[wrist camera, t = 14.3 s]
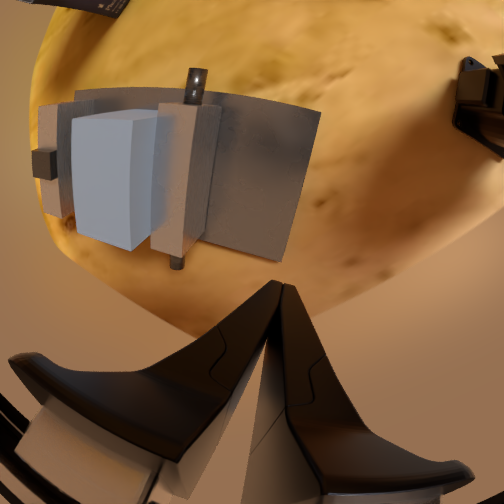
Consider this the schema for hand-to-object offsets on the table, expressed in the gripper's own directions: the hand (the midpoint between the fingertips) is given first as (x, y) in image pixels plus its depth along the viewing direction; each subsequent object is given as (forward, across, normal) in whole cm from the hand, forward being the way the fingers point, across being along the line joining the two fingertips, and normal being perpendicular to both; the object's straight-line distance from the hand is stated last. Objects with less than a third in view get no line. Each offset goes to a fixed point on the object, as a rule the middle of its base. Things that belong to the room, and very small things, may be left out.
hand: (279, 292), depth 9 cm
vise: (+12, +11, 0) cm, 17 cm away
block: (+12, +12, 0) cm, 16 cm away
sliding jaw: (+11, +8, 0) cm, 14 cm away
